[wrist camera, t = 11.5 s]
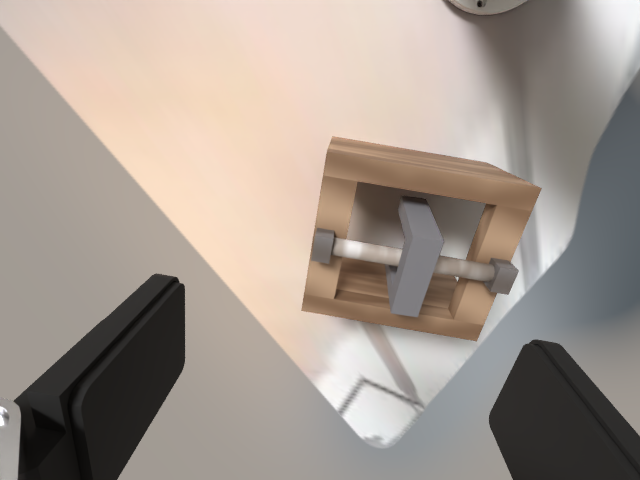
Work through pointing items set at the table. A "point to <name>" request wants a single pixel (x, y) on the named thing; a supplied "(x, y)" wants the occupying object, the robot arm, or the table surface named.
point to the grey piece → (414, 257)
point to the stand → (369, 259)
